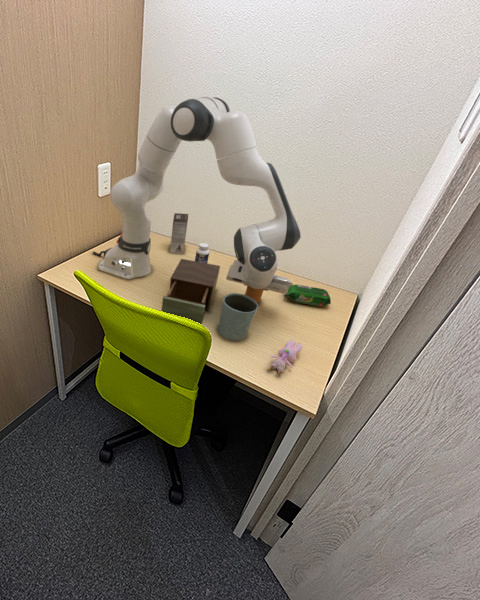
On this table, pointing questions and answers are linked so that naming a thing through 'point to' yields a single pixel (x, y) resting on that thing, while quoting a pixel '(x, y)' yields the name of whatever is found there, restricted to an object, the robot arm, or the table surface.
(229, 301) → the grey green plant pot
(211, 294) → the cabinet
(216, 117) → the robot arm
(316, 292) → the snack package
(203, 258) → the pill bottle
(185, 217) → the coffee box
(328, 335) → the table surface
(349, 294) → the table surface
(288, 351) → the rabbit figure
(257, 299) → the terracotta hollow cylinder
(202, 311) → the drawer
